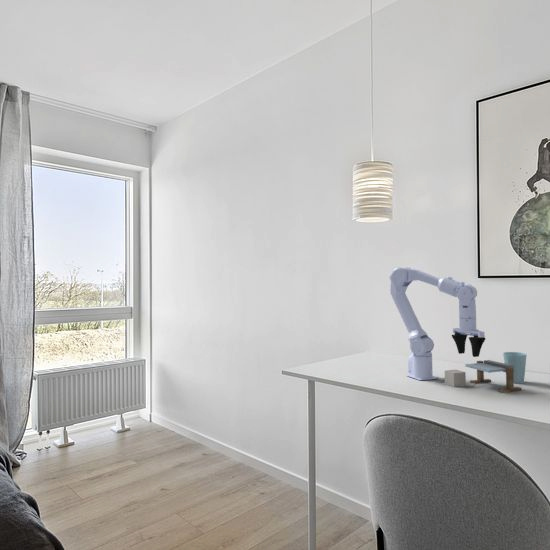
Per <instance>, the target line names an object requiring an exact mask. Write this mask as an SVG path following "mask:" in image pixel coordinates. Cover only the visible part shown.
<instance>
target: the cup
mask: <svg viewBox="0 0 550 550" xmlns="http://www.w3.org/2000/svg"><path fill="white" fill-rule="evenodd" d="M502 356H503V362H504V363H505V364H509V365H514V373H513V374H514V384H524V382H525V375H526V365H527V363H526V362H527V353H524V352H518V351H517V352H516V351H505V352H503V353H502Z"/></svg>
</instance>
